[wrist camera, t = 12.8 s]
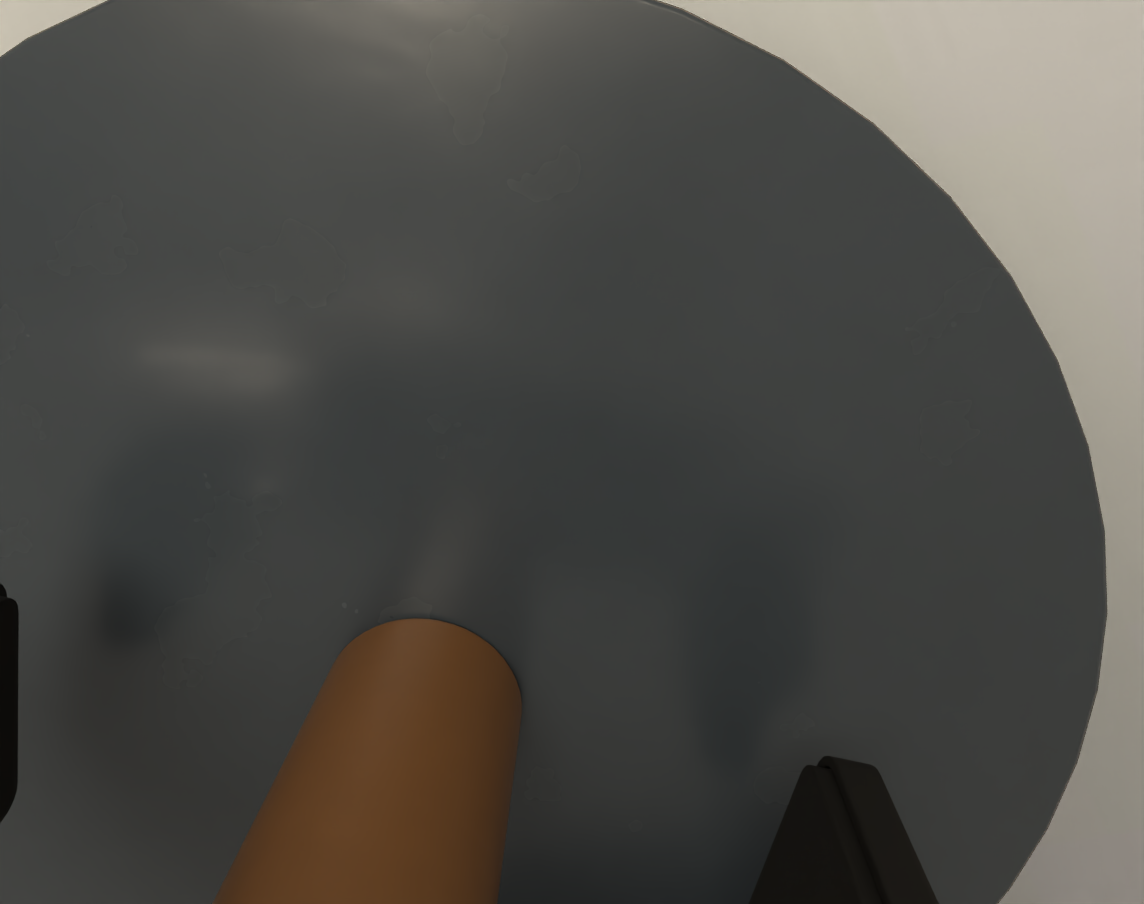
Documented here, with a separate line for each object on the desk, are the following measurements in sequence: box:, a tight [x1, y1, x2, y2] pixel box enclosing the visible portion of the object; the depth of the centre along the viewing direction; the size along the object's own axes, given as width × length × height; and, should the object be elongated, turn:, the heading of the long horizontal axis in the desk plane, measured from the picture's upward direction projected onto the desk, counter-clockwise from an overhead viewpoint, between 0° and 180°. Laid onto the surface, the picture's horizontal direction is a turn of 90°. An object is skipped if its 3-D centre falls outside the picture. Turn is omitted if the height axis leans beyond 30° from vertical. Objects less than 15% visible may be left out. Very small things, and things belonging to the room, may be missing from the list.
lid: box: [0, 0, 1107, 904], centre depth 10 cm, size 18×18×6 cm
